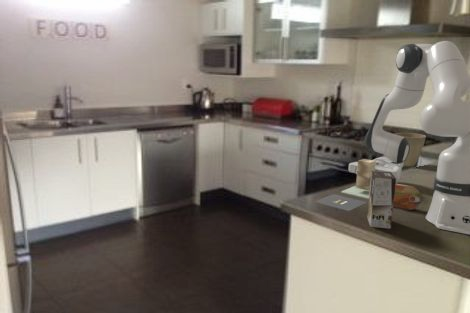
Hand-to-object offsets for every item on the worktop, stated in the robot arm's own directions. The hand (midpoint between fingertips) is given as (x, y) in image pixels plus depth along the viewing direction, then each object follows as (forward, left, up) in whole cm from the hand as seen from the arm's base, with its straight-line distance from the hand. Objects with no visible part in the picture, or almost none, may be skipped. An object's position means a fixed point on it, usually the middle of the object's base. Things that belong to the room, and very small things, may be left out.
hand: (365, 173), depth 161 cm
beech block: (0, 0, -6) cm, 6 cm away
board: (0, 0, -8) cm, 8 cm away
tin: (-16, +6, -8) cm, 19 cm away
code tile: (+1, +17, -8) cm, 19 cm away
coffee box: (-18, +27, -8) cm, 33 cm away
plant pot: (+8, -66, -8) cm, 67 cm away
